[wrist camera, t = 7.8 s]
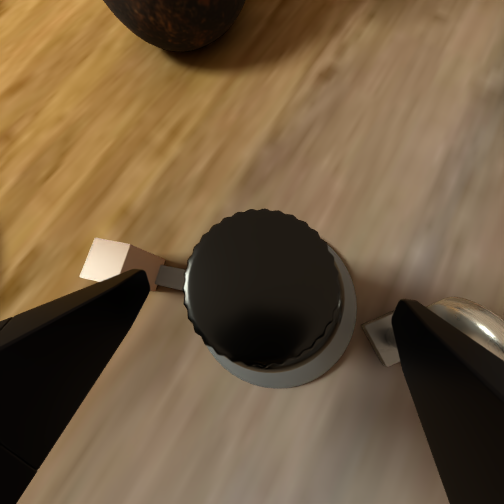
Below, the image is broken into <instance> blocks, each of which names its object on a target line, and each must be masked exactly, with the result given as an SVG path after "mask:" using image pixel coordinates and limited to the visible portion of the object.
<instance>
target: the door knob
mask: <svg viewBox="0 0 504 504" xmlns="http://www.w3.org/2000/svg"><path fill="white" fill-rule="evenodd" d="M426 308H428V309H429V310H431V311H432V312H434V313H435V314H437V315H438V316H439V317H441V318H442V319H444V320H445V321H447V322H448V323H450V324H451V325H453V326H454V327H455V328H457V329H458V330H460V331H461V332H463V333H464V334H466V335H467V336H469V337H470V338H471V339H473V340H474V341H476V342H477V343H479V344H480V345H482V346H483V347H485V348H486V349H487V350H489V351H490V352H492V353H493V354H495V355H496V356H498V357H499V358H501V359H502V360H504V320H502V319H501V318H500V317H498V316H497V315H496V314H494V313H493V312H491V311H490V310H488V309H486V308H485V307H483V306H481V305H479V304H477V303H475V302H472V301H470V300H467V299H463V298H459V297H448V298H445V299H443V300H440V301H438V302H436V303H434V304H431V305H429V306H427V307H426ZM393 313H394V311H392V312H390V313H388V314H386V315H383V316H381V317H379V318H376V319H374V320H372V321H369V322H367V323H365V324H362V325H361V326H362V328H363V330H364V332H365V334H366V335H367V337H368V339H369V341H370V343H371V345H372V347H373V348H374V350H375V352H376V354H377V356H378V358H379V360H380V361H381V363H382V365H384V366H386V367H388V366H391V365H393V364H395V363H398V362H400V358H399V354H398V350H397V345H396V341H395V337H394V333H393V328H392V324H391V319H392V315H393Z"/></svg>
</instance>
